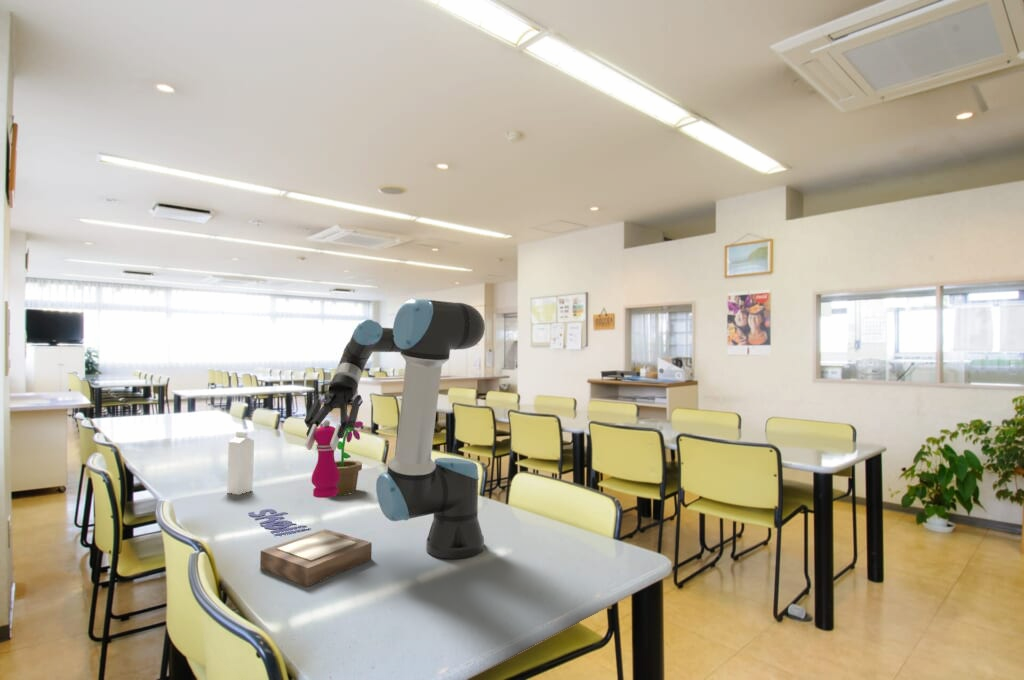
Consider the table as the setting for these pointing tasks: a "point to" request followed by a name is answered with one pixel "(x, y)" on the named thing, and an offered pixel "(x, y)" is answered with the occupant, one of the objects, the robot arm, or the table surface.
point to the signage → (276, 522)
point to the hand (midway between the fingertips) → (320, 447)
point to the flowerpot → (348, 464)
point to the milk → (240, 464)
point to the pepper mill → (325, 464)
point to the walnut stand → (315, 556)
